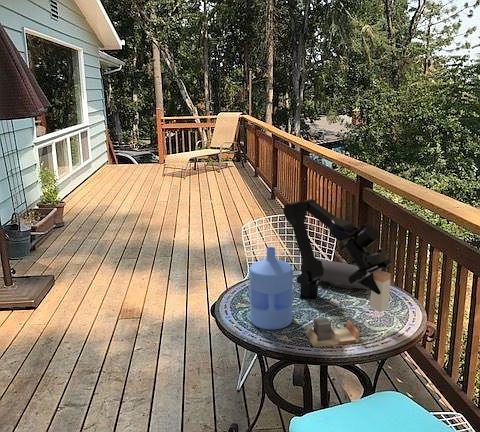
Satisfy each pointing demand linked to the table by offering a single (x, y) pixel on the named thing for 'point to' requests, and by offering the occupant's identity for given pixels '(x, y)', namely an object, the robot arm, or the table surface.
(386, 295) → the plug
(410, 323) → the table surface
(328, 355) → the table surface
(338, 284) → the bluetooth speaker
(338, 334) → the comb rack
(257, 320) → the water jug
